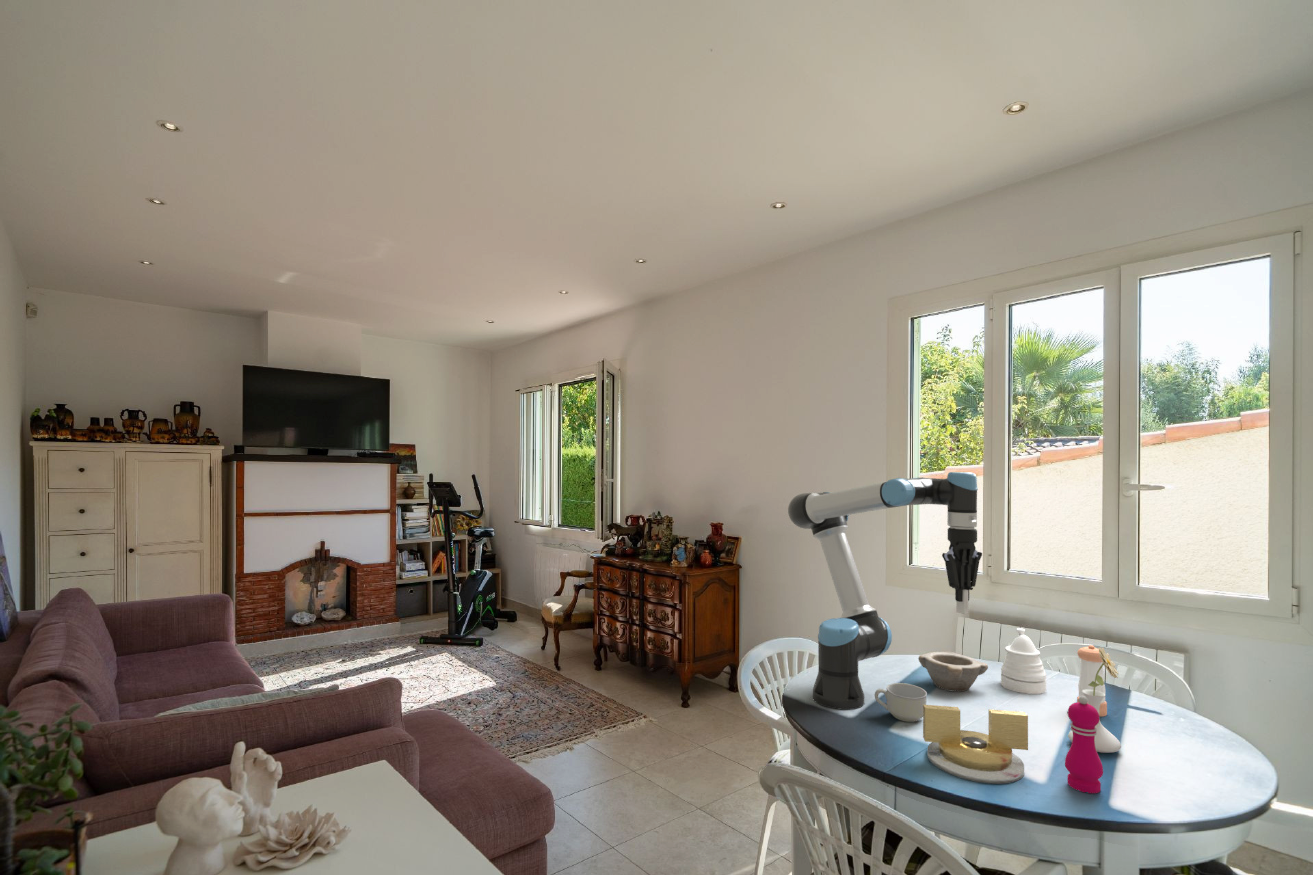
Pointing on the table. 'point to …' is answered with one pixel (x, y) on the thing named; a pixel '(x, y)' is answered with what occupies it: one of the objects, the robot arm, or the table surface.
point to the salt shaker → (1091, 674)
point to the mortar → (952, 670)
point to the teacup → (903, 701)
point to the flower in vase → (1104, 738)
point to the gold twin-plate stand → (976, 737)
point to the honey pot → (1023, 667)
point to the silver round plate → (975, 774)
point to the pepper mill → (1083, 748)
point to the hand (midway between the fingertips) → (962, 612)
